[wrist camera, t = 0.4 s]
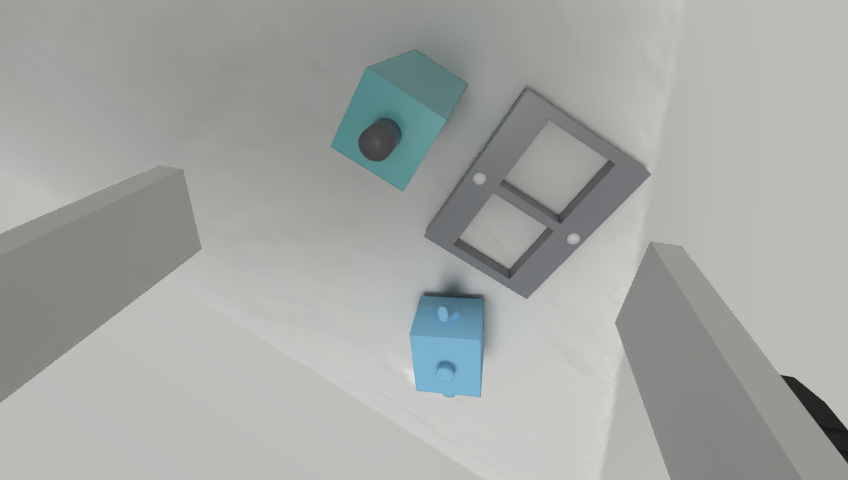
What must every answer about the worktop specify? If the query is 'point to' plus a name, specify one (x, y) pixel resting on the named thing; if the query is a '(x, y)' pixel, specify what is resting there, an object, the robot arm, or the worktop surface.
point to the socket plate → (563, 229)
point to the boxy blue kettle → (448, 345)
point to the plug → (397, 115)
